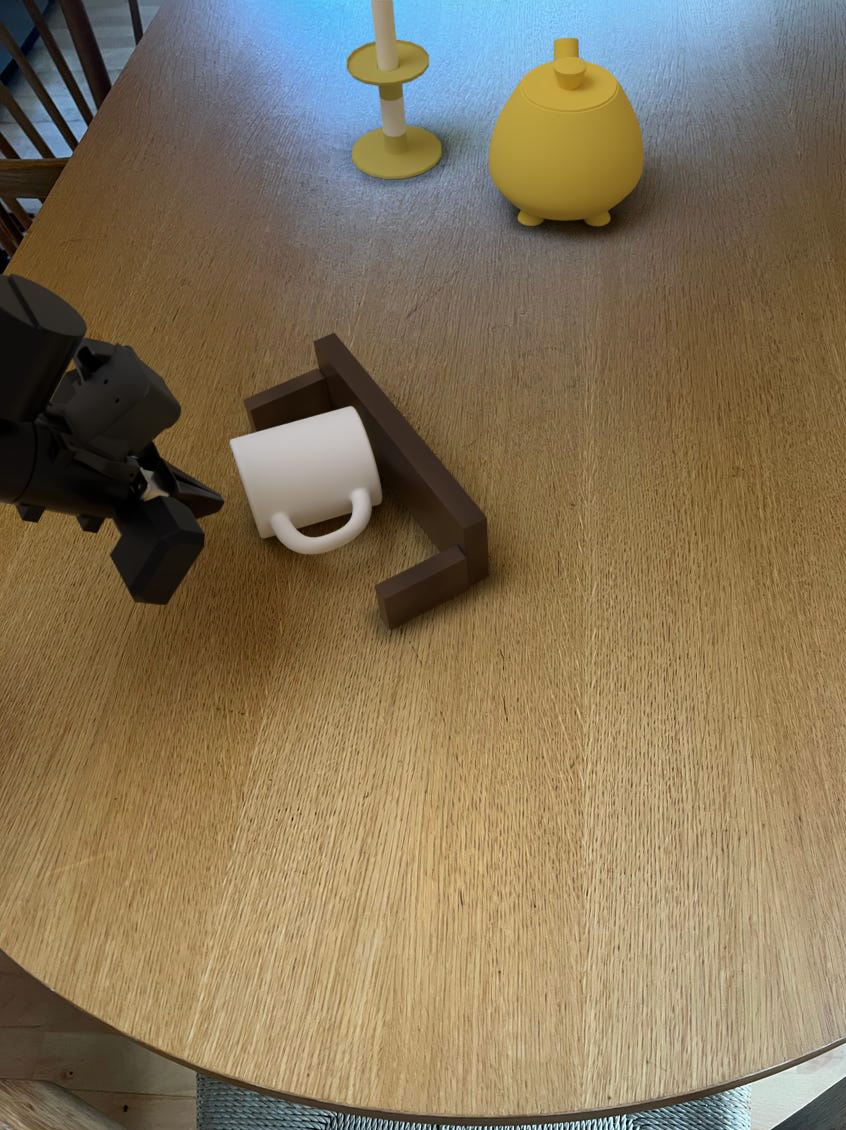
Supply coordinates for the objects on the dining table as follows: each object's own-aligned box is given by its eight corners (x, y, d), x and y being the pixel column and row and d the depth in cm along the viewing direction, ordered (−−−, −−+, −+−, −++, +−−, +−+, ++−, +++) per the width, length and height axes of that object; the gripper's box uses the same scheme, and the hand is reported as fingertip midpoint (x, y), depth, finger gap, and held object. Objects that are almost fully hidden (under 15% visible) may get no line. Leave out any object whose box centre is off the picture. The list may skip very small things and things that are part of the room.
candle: (433, 182, 108) (412, -115, 85) (342, 176, 109) (297, -119, 86) (449, 130, 113) (434, -162, 91) (362, 124, 114) (325, -166, 92)
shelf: (389, 630, 76) (379, 574, 70) (252, 433, 88) (234, 371, 82) (490, 578, 79) (489, 519, 73) (344, 393, 90) (333, 330, 85)
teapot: (494, 132, 113) (491, -1, 101) (635, 132, 112) (648, -2, 100) (485, 244, 102) (482, 108, 90) (642, 245, 101) (658, 108, 89)
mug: (244, 488, 85) (221, 418, 78) (359, 456, 86) (346, 384, 80) (280, 597, 78) (258, 531, 72) (402, 559, 80) (392, 491, 73)
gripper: (126, 447, 55) (336, 500, 67) (20, 266, 64) (222, 342, 76) (40, 597, 59) (252, 621, 71) (-48, 407, 68) (154, 458, 80)
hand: (220, 503), depth 75 cm, fingers closed
